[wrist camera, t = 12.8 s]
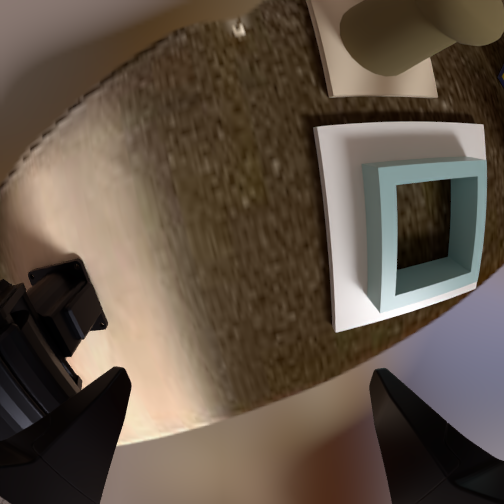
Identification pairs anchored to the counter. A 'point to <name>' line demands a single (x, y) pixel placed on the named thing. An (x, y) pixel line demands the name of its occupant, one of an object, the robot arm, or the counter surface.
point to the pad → (353, 74)
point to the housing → (385, 214)
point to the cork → (416, 30)
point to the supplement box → (501, 76)
